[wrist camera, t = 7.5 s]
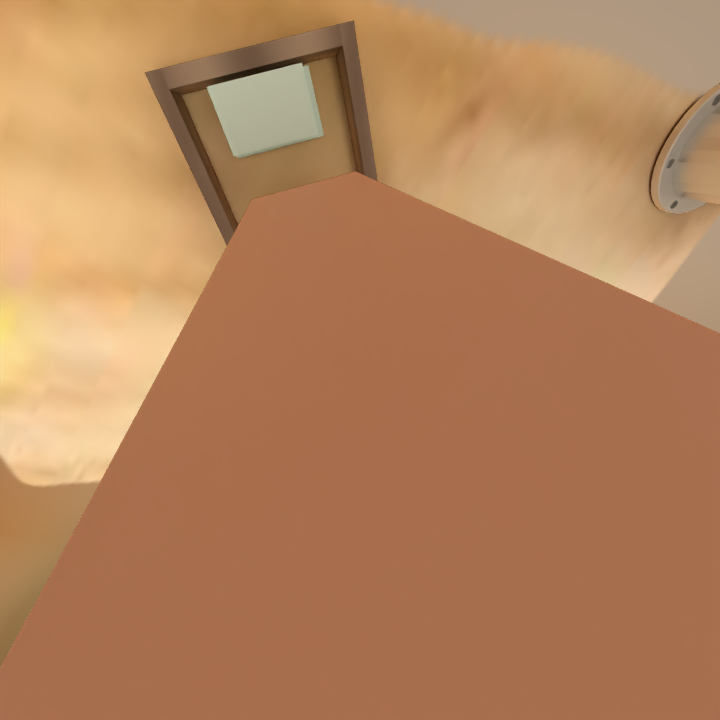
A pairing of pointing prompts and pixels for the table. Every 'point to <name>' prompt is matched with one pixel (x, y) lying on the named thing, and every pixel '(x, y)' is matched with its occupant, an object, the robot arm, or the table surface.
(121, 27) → the table surface
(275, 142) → the pale green block
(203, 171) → the frame
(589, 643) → the tall pink block
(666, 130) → the table surface
